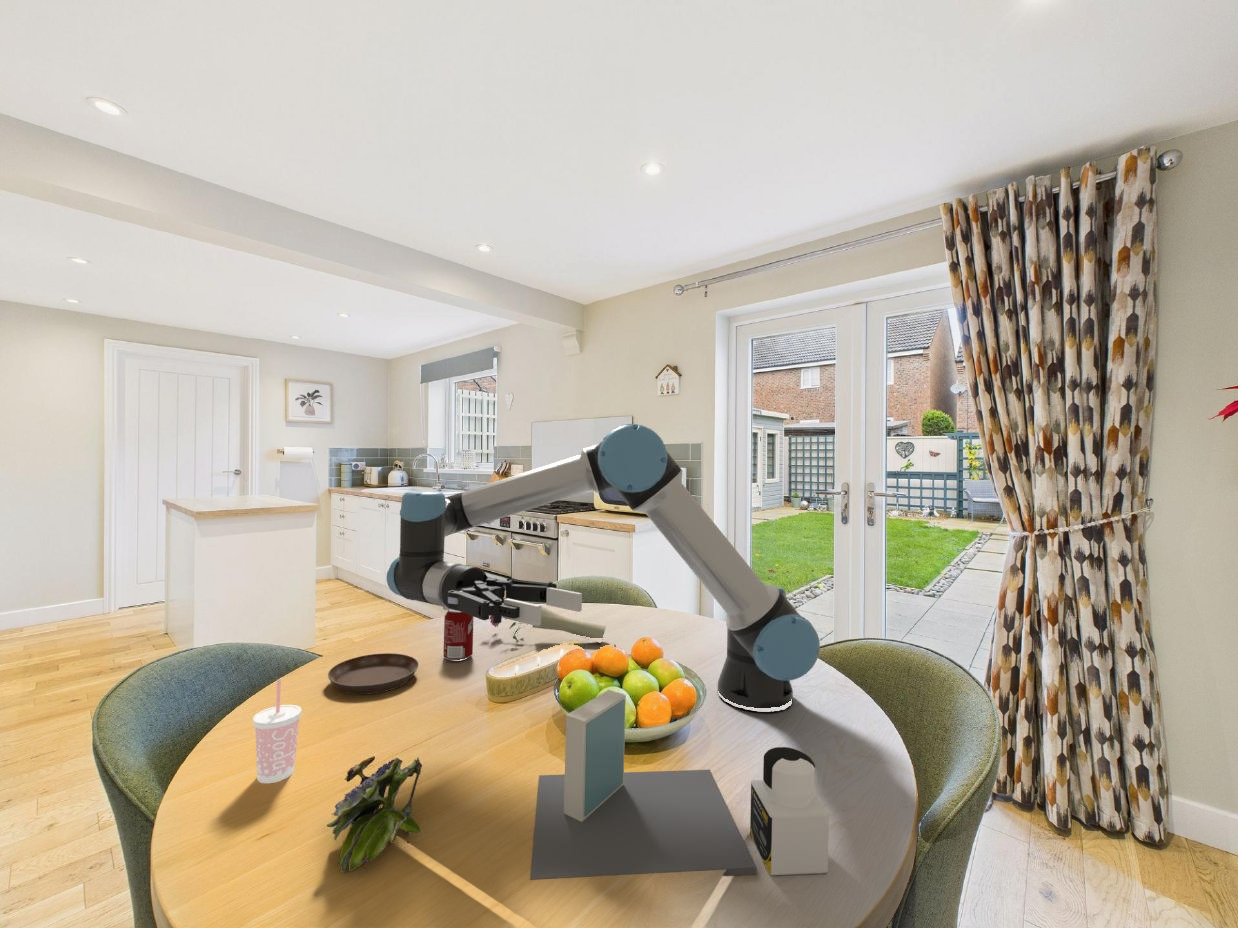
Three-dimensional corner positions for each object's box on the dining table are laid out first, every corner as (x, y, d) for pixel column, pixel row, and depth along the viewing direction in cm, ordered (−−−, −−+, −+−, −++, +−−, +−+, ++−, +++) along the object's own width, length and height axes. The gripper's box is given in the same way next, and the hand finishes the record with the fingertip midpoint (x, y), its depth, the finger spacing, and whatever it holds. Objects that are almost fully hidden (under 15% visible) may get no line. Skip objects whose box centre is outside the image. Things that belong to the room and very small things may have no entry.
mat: (709, 774, 81) (709, 769, 81) (756, 873, 61) (756, 866, 61) (538, 780, 79) (539, 775, 79) (529, 886, 59) (530, 878, 59)
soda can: (464, 664, 124) (465, 612, 124) (437, 661, 126) (439, 610, 126) (477, 654, 131) (478, 605, 131) (452, 651, 132) (453, 603, 132)
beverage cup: (247, 790, 75) (250, 691, 75) (254, 768, 80) (257, 675, 80) (298, 779, 78) (301, 683, 78) (301, 759, 83) (304, 669, 83)
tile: (563, 813, 70) (566, 714, 70) (606, 777, 79) (608, 689, 79) (583, 822, 68) (585, 721, 69) (624, 784, 77) (626, 695, 77)
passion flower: (356, 872, 67) (377, 764, 75) (436, 866, 66) (449, 757, 73) (295, 875, 58) (325, 753, 66) (385, 869, 57) (406, 745, 64)
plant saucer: (427, 687, 112) (427, 672, 112) (332, 706, 102) (333, 690, 102) (407, 660, 126) (408, 648, 126) (323, 675, 116) (323, 661, 116)
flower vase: (593, 675, 138) (465, 640, 140) (600, 647, 150) (483, 614, 152) (602, 638, 135) (471, 602, 137) (609, 612, 146) (488, 579, 148)
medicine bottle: (749, 834, 68) (751, 740, 68) (802, 832, 69) (804, 739, 69) (769, 876, 61) (771, 772, 61) (829, 874, 62) (831, 771, 62)
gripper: (503, 596, 99) (602, 618, 86) (400, 623, 81) (507, 654, 68) (504, 556, 99) (603, 572, 86) (401, 574, 81) (508, 596, 68)
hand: (560, 608), depth 77 cm, fingers open, 9 cm apart
